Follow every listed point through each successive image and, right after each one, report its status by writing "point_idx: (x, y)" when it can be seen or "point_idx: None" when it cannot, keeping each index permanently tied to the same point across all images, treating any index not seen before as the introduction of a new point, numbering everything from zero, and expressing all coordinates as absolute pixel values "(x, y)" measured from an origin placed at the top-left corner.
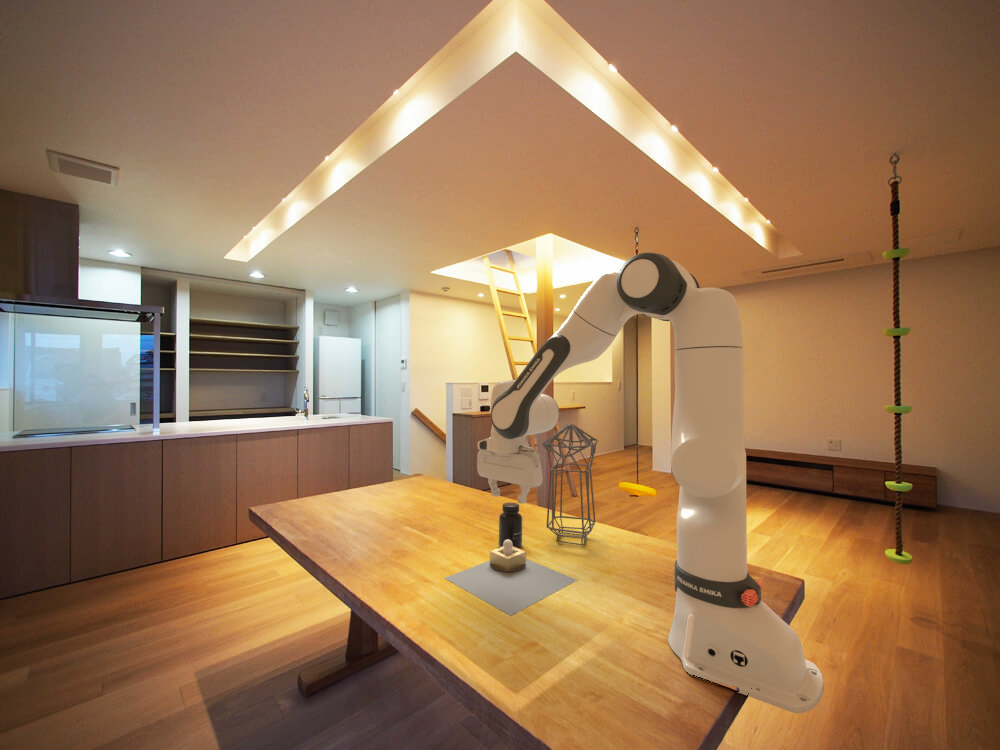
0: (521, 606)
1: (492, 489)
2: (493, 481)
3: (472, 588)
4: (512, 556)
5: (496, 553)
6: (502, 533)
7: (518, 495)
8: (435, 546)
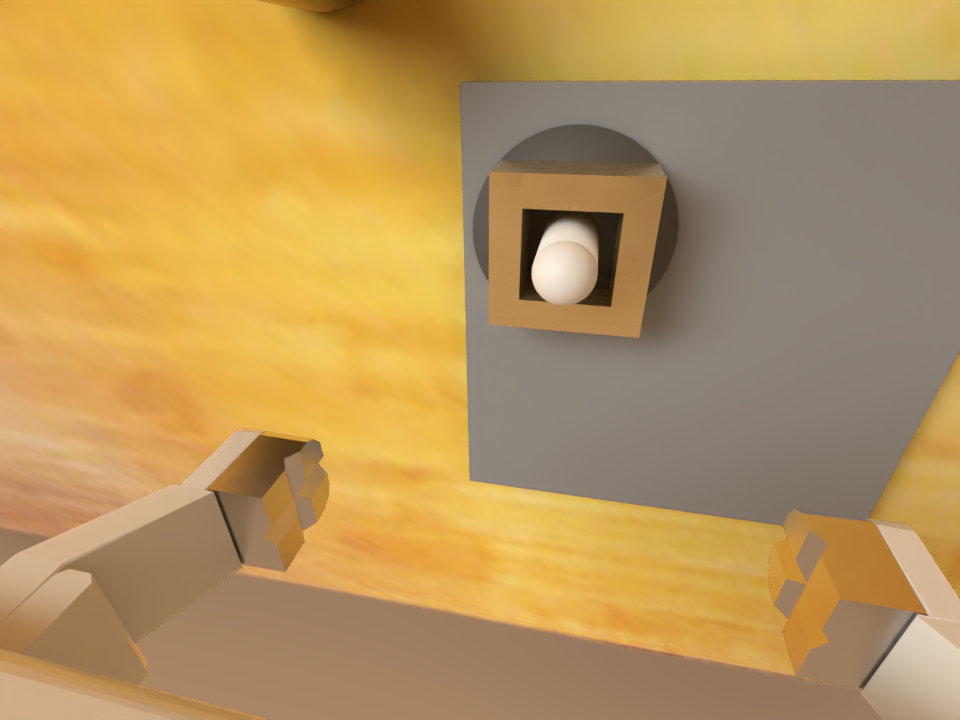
0: (866, 479)
1: (235, 565)
2: (124, 655)
3: (609, 481)
4: (640, 296)
5: (538, 323)
6: (277, 2)
7: (804, 661)
8: (140, 270)
